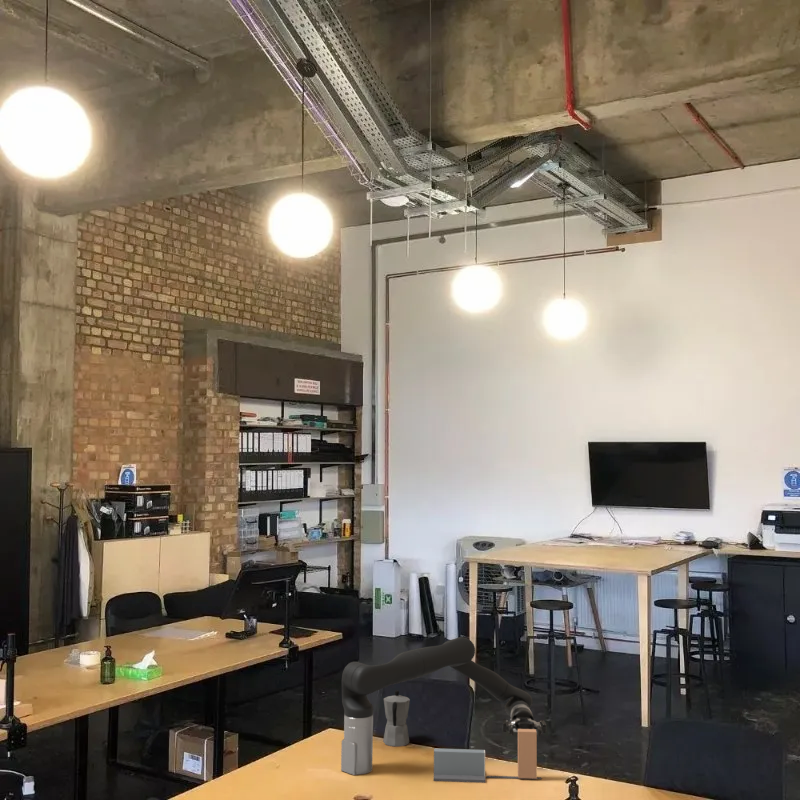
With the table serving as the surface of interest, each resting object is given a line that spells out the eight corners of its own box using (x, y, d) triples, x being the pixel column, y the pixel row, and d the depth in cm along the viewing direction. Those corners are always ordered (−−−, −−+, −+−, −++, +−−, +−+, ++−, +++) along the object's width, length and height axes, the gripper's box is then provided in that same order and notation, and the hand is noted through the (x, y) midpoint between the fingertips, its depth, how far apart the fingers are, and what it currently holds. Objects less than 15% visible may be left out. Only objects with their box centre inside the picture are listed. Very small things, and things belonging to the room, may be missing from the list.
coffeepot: (385, 736, 309) (385, 685, 311) (411, 737, 308) (411, 686, 310) (380, 750, 294) (380, 696, 295) (407, 751, 293) (408, 697, 294)
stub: (518, 777, 267) (518, 731, 268) (517, 774, 270) (517, 728, 271) (536, 778, 266) (536, 732, 267) (535, 775, 269) (535, 729, 270)
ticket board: (433, 781, 265) (433, 755, 265) (434, 769, 275) (434, 744, 275) (542, 784, 263) (542, 758, 263) (539, 773, 273) (539, 748, 273)
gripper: (500, 706, 293) (503, 720, 277) (542, 707, 292) (548, 721, 276) (501, 728, 292) (503, 744, 276) (543, 729, 291) (548, 745, 275)
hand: (525, 732), depth 276 cm, fingers open, 8 cm apart
